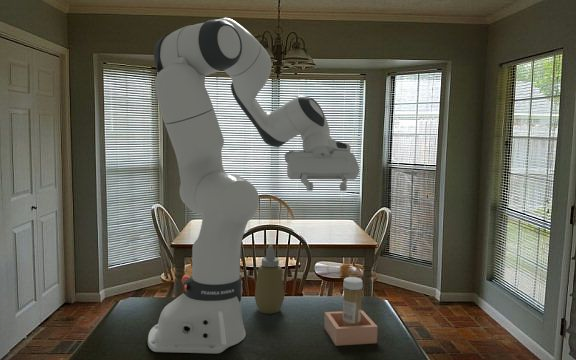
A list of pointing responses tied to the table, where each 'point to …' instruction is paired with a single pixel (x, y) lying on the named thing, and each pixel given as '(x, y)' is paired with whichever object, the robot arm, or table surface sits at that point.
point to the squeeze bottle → (269, 284)
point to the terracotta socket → (350, 329)
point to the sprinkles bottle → (352, 301)
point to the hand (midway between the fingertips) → (327, 189)
